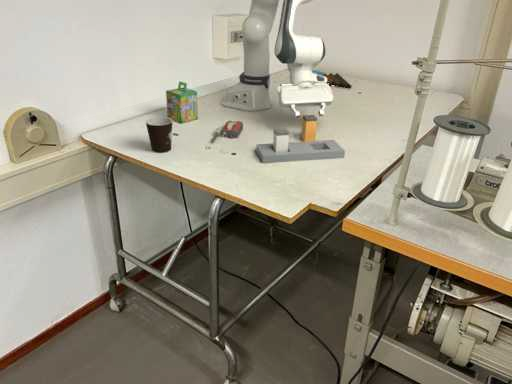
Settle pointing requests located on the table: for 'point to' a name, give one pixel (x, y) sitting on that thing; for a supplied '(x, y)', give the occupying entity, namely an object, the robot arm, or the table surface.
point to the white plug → (280, 140)
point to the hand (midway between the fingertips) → (309, 116)
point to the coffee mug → (160, 133)
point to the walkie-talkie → (229, 130)
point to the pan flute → (336, 80)
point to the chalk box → (182, 104)
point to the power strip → (301, 151)
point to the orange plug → (309, 128)
